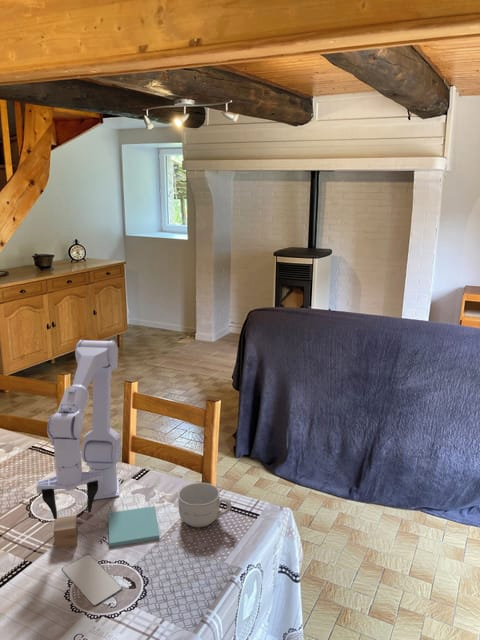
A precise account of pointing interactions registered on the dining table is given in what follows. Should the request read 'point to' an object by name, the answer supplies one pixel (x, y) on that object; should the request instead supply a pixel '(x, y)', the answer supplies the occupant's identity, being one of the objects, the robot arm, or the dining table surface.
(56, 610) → the dining table surface
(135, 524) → the teal square plate
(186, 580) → the dining table surface
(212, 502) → the teacup
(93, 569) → the smartphone
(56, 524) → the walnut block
